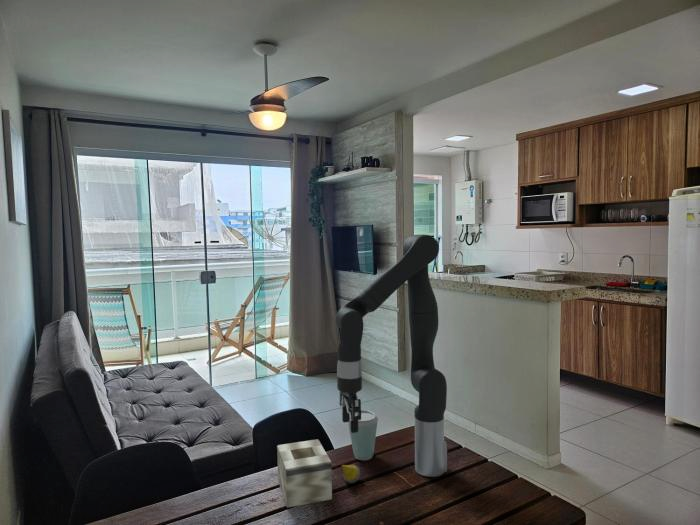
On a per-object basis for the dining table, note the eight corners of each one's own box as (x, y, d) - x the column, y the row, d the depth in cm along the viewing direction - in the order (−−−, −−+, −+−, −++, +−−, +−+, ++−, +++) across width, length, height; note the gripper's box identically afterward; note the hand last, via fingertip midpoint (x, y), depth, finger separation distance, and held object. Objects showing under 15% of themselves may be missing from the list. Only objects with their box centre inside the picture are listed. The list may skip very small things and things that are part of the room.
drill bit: (365, 483, 144) (350, 471, 138) (350, 489, 145) (334, 477, 139) (362, 466, 148) (348, 453, 142) (347, 472, 149) (333, 459, 143)
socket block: (318, 472, 150) (317, 438, 150) (332, 500, 134) (331, 462, 134) (277, 479, 147) (276, 444, 146) (287, 508, 130) (286, 470, 130)
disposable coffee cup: (384, 454, 162) (383, 411, 162) (368, 467, 153) (367, 421, 153) (358, 447, 168) (357, 405, 167) (341, 459, 159) (340, 415, 158)
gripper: (369, 379, 136) (369, 434, 137) (354, 367, 150) (354, 417, 151) (344, 382, 134) (345, 437, 135) (331, 369, 148) (332, 419, 149)
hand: (350, 426), depth 143 cm, fingers open, 8 cm apart
